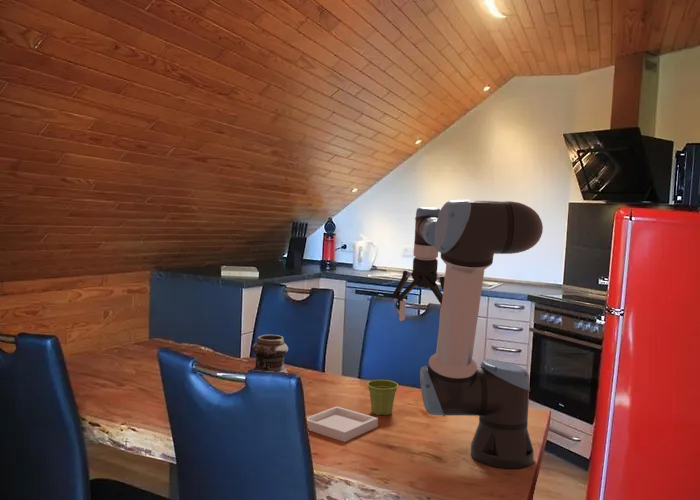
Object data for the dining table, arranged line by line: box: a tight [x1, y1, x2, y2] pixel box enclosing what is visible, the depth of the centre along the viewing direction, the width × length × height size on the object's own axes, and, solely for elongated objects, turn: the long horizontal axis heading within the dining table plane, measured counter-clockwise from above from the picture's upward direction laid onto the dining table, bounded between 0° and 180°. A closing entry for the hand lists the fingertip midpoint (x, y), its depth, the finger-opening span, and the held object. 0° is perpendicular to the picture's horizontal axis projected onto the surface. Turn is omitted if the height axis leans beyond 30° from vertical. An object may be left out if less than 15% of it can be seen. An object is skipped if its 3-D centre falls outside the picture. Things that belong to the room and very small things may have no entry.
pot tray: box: [306, 405, 379, 443], centre depth 161 cm, size 15×15×2 cm
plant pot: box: [366, 379, 399, 416], centre depth 175 cm, size 9×9×9 cm
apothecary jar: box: [252, 334, 289, 373], centre depth 194 cm, size 12×12×18 cm
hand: (421, 324), depth 182 cm, fingers open, 13 cm apart
